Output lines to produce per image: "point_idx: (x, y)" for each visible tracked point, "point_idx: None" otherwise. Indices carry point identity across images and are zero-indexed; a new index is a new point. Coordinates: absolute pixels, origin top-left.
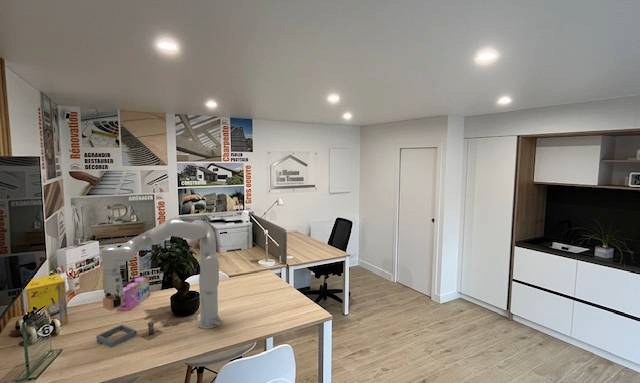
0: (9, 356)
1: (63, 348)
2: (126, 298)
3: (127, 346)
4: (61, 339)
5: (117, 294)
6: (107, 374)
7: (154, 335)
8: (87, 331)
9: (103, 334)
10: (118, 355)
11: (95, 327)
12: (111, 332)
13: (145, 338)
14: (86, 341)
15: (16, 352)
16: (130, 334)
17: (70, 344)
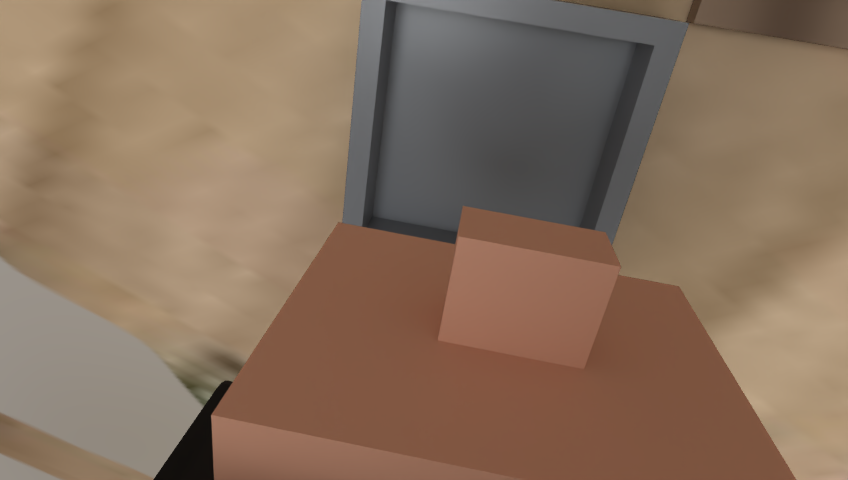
0: (59, 467)
1: (224, 349)
2: None
3: (696, 190)
4: (74, 277)
5: (379, 454)
6: (807, 472)
7: None
8: (96, 122)
9: (367, 199)
10: (718, 309)
11: (71, 36)
12: (379, 117)
13: (835, 37)
14: (269, 241)
15: (39, 438)
16: (656, 103)
17: (208, 304)
